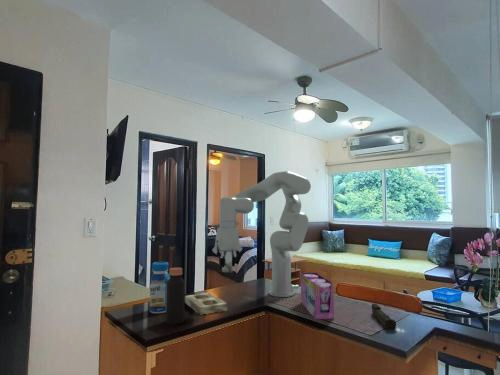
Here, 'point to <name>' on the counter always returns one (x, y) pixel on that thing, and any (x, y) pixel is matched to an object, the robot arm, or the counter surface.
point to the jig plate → (205, 303)
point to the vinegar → (175, 297)
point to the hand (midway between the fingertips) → (227, 266)
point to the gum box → (317, 295)
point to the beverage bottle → (158, 287)
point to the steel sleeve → (227, 261)
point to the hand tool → (383, 317)
